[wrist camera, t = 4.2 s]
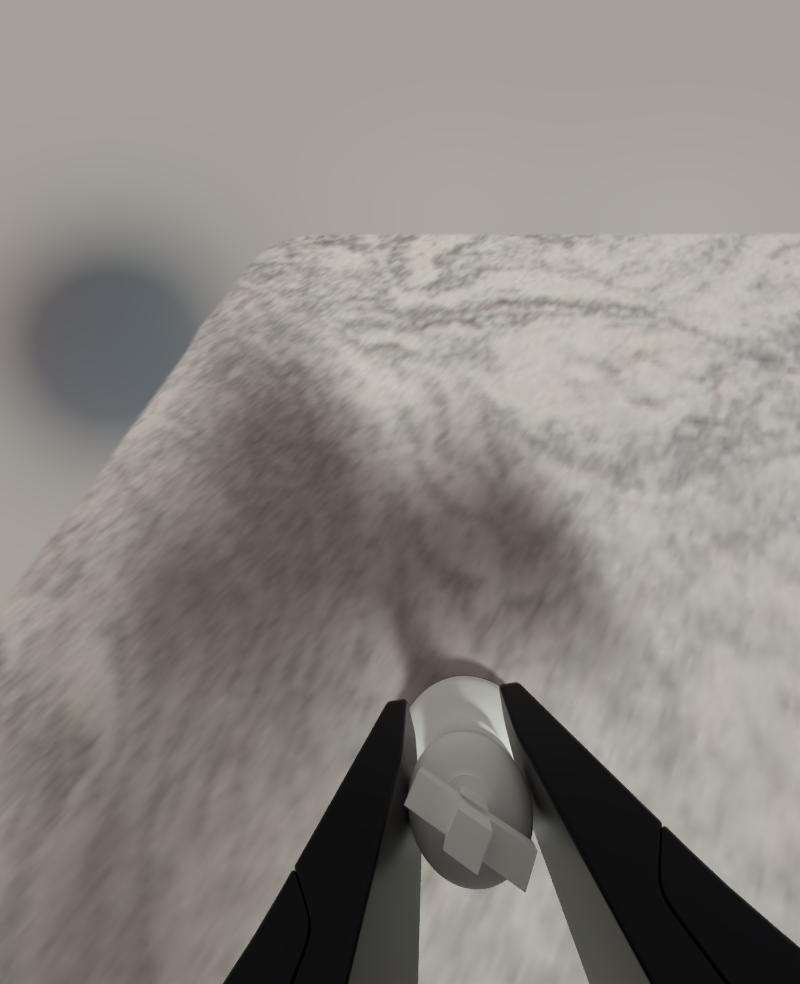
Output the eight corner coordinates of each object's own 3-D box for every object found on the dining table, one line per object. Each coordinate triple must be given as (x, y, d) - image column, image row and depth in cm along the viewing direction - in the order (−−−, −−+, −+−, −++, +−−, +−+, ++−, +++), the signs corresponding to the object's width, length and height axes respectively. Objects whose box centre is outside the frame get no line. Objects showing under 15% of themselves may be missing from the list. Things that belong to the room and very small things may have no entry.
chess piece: (435, 651, 15) (388, 569, 6) (565, 722, 13) (745, 741, 5) (372, 791, 13) (184, 942, 4) (513, 894, 11) (653, 1469, 3)
